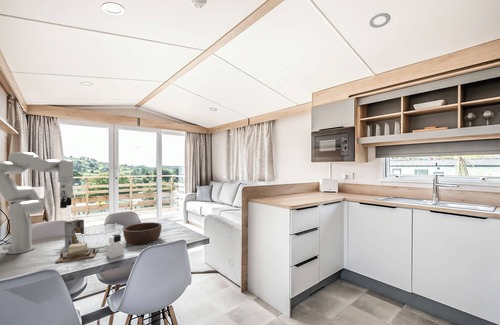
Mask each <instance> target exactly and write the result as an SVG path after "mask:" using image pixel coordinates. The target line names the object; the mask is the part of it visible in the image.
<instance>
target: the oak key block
mask: <svg viewBox="0 0 500 325" xmlns="http://www.w3.org/2000/svg"><path fill="white" fill-rule="evenodd" d="M87 249H88V242H83V243H79V244H71V245H70V246H68V252H69V256H71V255H78V254H85V253H87Z"/></svg>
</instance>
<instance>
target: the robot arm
mask: <svg viewBox="0 0 500 325" xmlns="http://www.w3.org/2000/svg"><path fill="white" fill-rule="evenodd" d="M29 169H30V170H32V171H36V172H42V173H52V172H57V173H58V174H57V183H59V189H58V190H59V208H60V209H66V208H68V206H72V197H73V196H74V189H73V182H74V161H73V160H71V159H44V158H43V159H42V158H41V157H40V156H39V155H37V154H36V153H34V152H31V151H29V152H27V151H14V152H12V153H10V154H9V155H8V157H7V161H6V160H3V161H2V160H0V195H1V196H2V198H3V199H4V201H6V202H8V203H12V204H10V205H9V206H8V209H7V210H8V216H9V219H10V220H9V221H10V244H9V245H3V246H2V248H1V249H2V250H3V251H5V250H7V252H6V253H7V254H8V255H17V254H23V253H28V252H31V251H33V250H35V248H36V246H35V245H32V230H33V228H32V220H31V218H30V217H29V215H33V214H38V213H40V212H41V211H42V210H43V209H44V204H43V201H42V200H41V198H40V196H39V195H38V193H37V192H36V190H35V189H34V188H33V187H31V186H19V185H17V183H16V182H15V180H14V179H13V178H11V177H10V176H8V175H19V174H22V173H24V172H25V171H27V170H29Z"/></svg>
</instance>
